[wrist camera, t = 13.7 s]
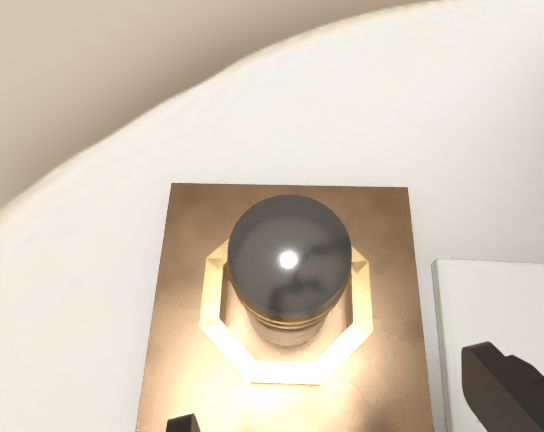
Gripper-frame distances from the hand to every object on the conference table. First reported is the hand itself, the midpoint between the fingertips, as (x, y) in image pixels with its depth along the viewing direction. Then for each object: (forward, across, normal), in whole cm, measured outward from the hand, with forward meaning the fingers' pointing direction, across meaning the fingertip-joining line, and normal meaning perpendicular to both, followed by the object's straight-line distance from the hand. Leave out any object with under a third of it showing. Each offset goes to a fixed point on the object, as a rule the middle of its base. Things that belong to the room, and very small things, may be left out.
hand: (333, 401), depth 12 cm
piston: (+12, 0, +5) cm, 13 cm away
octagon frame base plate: (+13, 0, +5) cm, 14 cm away
